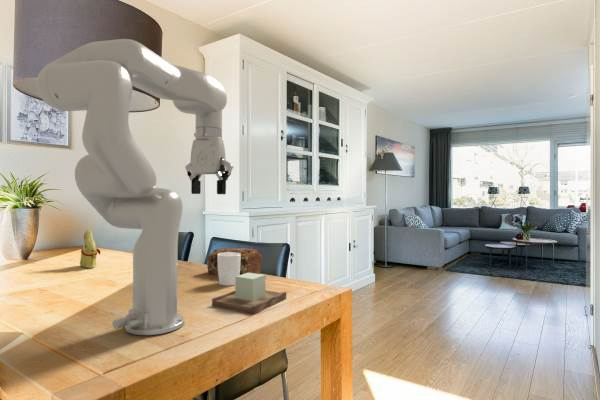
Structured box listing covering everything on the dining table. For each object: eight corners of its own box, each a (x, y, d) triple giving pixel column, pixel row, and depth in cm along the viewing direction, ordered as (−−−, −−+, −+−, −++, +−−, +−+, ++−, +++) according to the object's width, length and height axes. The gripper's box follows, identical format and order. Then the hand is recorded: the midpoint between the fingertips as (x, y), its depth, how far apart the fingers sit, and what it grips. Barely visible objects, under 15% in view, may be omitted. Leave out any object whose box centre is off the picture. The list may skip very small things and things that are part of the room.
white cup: (235, 287, 121) (235, 256, 121) (213, 285, 123) (213, 255, 123) (244, 281, 129) (244, 252, 129) (222, 280, 130) (223, 251, 130)
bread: (262, 274, 140) (262, 248, 140) (245, 280, 131) (245, 252, 131) (224, 269, 150) (224, 244, 149) (205, 274, 140) (205, 247, 140)
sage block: (253, 301, 100) (253, 279, 100) (235, 298, 103) (235, 276, 103) (265, 295, 106) (265, 274, 105) (248, 293, 108) (248, 272, 108)
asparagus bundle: (85, 270, 144) (85, 231, 144) (77, 266, 152) (77, 229, 151) (104, 267, 149) (104, 230, 148) (95, 263, 157) (95, 228, 156)
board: (254, 314, 94) (254, 306, 94) (212, 305, 101) (212, 298, 101) (286, 298, 108) (286, 292, 108) (247, 292, 115) (247, 286, 115)
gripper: (177, 135, 109) (177, 193, 109) (223, 131, 101) (223, 194, 101) (195, 138, 116) (195, 193, 116) (240, 135, 108) (240, 194, 108)
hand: (208, 194), depth 109 cm, fingers open, 9 cm apart
